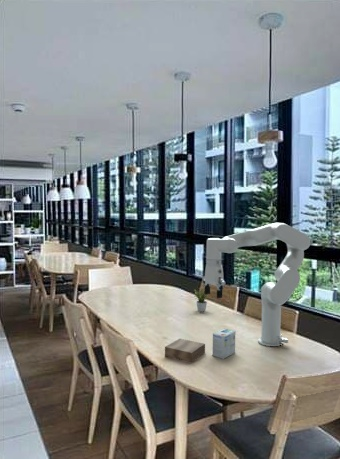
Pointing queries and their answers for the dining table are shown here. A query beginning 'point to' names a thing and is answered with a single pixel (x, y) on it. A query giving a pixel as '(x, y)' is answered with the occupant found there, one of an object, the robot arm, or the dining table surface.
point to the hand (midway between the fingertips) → (213, 295)
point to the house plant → (201, 300)
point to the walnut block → (185, 350)
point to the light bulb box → (223, 343)
